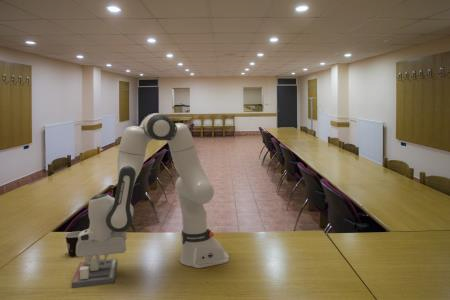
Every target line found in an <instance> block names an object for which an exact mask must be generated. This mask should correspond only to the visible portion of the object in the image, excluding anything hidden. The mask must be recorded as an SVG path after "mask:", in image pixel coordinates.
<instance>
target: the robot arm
mask: <svg viewBox="0 0 450 300" xmlns="http://www.w3.org/2000/svg"><path fill="white" fill-rule="evenodd" d="M152 140H156V141H166V142H167V144H168V148H169V151H170V155H171V158H172V161H173V165H174V168H175V171H176V172H177V173H178V175H179V177H178V178H177V179H176V180H175V184H174V185H175V190H176V193H177V197H178V200H179V206H180V210H181V219H182V221H181V222H182V223H181V224H182V225H181V226H182V229H181V243H182V245H181V246H182V247H181V254H180V259H179V262H180V263H181V264H182V265H184V266H188V267H193V268H194V269H201V268H203V269H204V268H207V267H213V266H216V265H222V264H226V263H228V262H229V261H230V256H229V254H228V253H227V252H226V251H225V250H224V247H223V245H222V243H221V242H220V241H219V240H217V239H215V237H214V232H212V230H211V229H209V228H208V225H207V223H208V221H207V211H206V209H205V206H204V205H206V204H208V203H209V202H210V201H212V199H213V197H214V193H215V192H214V191H215V190H214V188H213V185H212V184H211V182H210V181H209V179H208V177H207V175H206V173H205V171H204V169H203V166H202V164H201V162H200V159H199V156H198V152H197V147H196V145H195V140H194V138H193V135H192V133H191V131H190V129H189V126H188V125H187V124H185V123H182V122H177V123H174V122H173V121H172V120H171V119H170V118H169V117H168V116H167V115H165V114H162V113H159V112H155V113H153V112H152V113H149V114H148V115H146V116H145V117H144V118H142V120H141V121H140V122H139V124H138V125H130V126H127V127H125V129H124V131H123V133H122V136H121V139H120V142H119V146H118V151H117V161H116V162H117V184H116V190H115V196H114V197H112V196H110V195H109V194H108V193H101V194H97V195H94V196H93V197H91V198H90V199H89V201H88V208H87V209H88V210H87V211H88V219H89V227H88V228H87V229H84V230H82V231H81V232H80V233H79V235H78V242H77V244H76V256H77V258H83V257H84V258H85V256H93V257H94V256H95V258H94V259H97V261H98V262H99V265H104V264H106V260H108V257H109V255H115V254H125V253H126V252H127V242H126V241H127V239H128V238H127V236H128V235H127V233H126V231H127V230H129V229H130V228H131V227H132V225H133V216H134V211H135V209H134V206H133V205H132V203H131V202H132V198H133V197H132V196H133V191H134V186H135V183H136V181H137V178H138V176H139V175H140V173H141V170H142V168H143V165H144V163H145V159H146V154H147V147H148V145H149V143H150V142H151V141H152ZM100 256H103V257H104V258H103V259H101V258H100Z"/></svg>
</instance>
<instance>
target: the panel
mask: <svg viewBox="0 0 450 300" xmlns="http://www.w3.org/2000/svg"><path fill="white" fill-rule="evenodd" d="M83 266H89V278H88V279H80V268H81V267H83ZM117 268H118V258H110V259H109V258H107V259H106V264H104V265H99V269H98V270H96V271H90V265H85V261H80V262H79V264H78V267H77V269H76V270H75V273H74V276H73V279H72V281H71V288H72V289H75V288H81V287H91V286H101V285H108V284H109V285H110V284H115V282H116V281H115V280H116V275H117Z"/></svg>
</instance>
